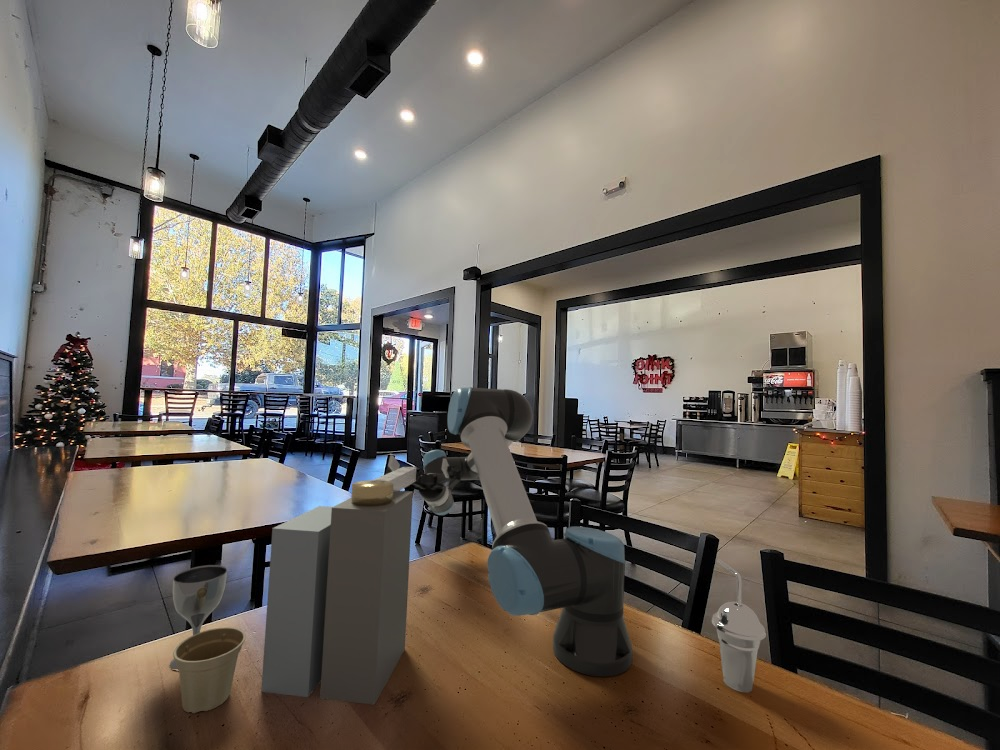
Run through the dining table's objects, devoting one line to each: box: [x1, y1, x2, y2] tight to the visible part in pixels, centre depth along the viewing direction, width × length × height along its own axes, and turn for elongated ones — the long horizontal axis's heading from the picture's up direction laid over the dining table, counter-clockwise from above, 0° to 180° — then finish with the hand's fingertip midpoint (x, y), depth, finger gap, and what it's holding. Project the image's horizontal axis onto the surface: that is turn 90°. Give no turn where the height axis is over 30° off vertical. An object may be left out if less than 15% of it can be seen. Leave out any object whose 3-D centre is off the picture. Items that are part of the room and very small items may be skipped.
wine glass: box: [168, 564, 228, 670], centre depth 77 cm, size 8×8×15 cm
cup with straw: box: [711, 558, 767, 693], centre depth 76 cm, size 8×9×20 cm
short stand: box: [260, 505, 333, 698], centre depth 76 cm, size 8×15×26 cm, turn 174°
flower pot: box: [172, 626, 247, 714], centre depth 67 cm, size 9×9×9 cm
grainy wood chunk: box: [350, 466, 417, 507], centre depth 83 cm, size 7×23×3 cm, turn 173°
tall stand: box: [319, 490, 414, 705], centre depth 76 cm, size 9×15×30 cm, turn 174°
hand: (416, 461), depth 106 cm, fingers open, 13 cm apart
